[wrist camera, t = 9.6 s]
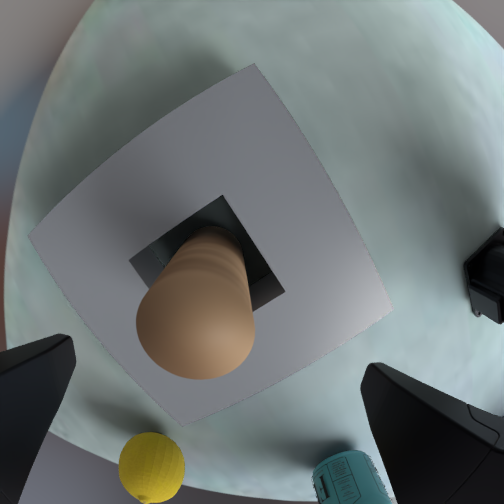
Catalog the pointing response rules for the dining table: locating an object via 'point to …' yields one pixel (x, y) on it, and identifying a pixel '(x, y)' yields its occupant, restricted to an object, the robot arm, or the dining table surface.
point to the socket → (253, 220)
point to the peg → (199, 308)
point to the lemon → (151, 467)
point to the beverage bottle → (349, 480)
